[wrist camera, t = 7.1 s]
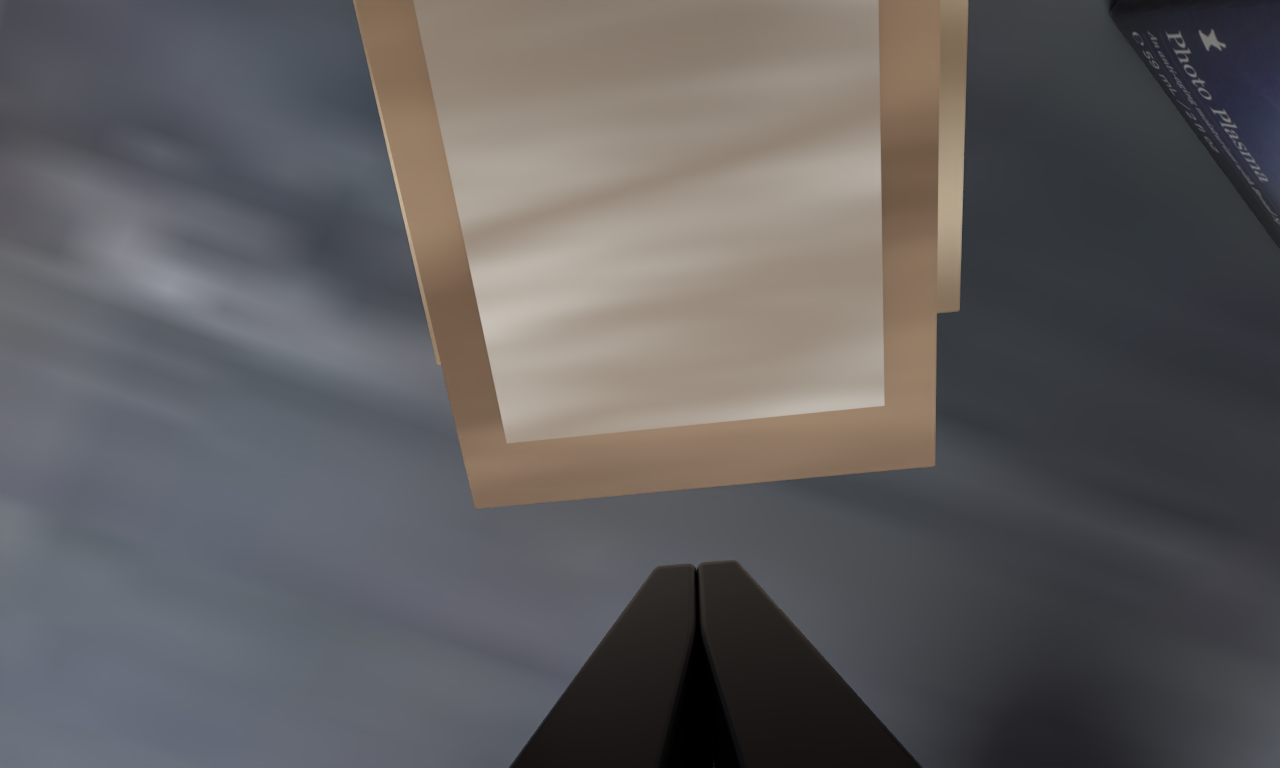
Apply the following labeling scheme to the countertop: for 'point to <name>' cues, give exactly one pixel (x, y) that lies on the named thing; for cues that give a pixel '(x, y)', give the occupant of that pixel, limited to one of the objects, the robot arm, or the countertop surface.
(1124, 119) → the countertop surface
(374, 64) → the brown rectangular block
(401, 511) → the countertop surface
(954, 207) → the cutting board
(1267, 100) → the small box
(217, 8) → the countertop surface
